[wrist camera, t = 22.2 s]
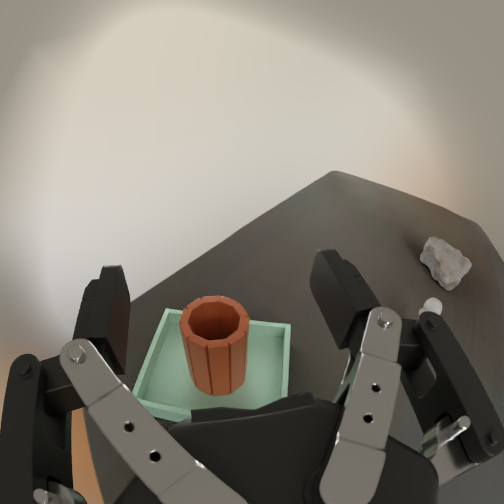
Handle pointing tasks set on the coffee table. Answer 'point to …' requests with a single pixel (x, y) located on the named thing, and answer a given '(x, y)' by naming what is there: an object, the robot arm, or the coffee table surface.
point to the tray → (182, 387)
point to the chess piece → (432, 306)
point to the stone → (444, 262)
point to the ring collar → (215, 344)
